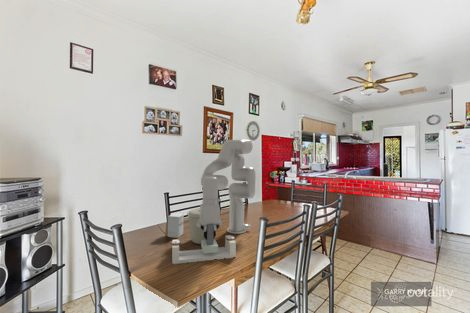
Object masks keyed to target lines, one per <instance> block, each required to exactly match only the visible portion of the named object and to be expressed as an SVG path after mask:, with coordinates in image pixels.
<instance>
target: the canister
mask: <svg viewBox="0 0 470 313" xmlns="http://www.w3.org/2000/svg"><path fill="white" fill-rule="evenodd" d="M199 215H200V207H198V208H193V209H190V210H189V211H188V212H187V213H186V216H188V217H187V218H188V228H189V234H190V235H189V236H190V240H191V242H193V243H194V244H196V245H201V240H206V239H205V238H204V231H203V230H202V229H201V228H200V227H197V225H196V224H197V223H198V221H199ZM200 225H201V224H200ZM202 226H203V225H202Z"/></svg>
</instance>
